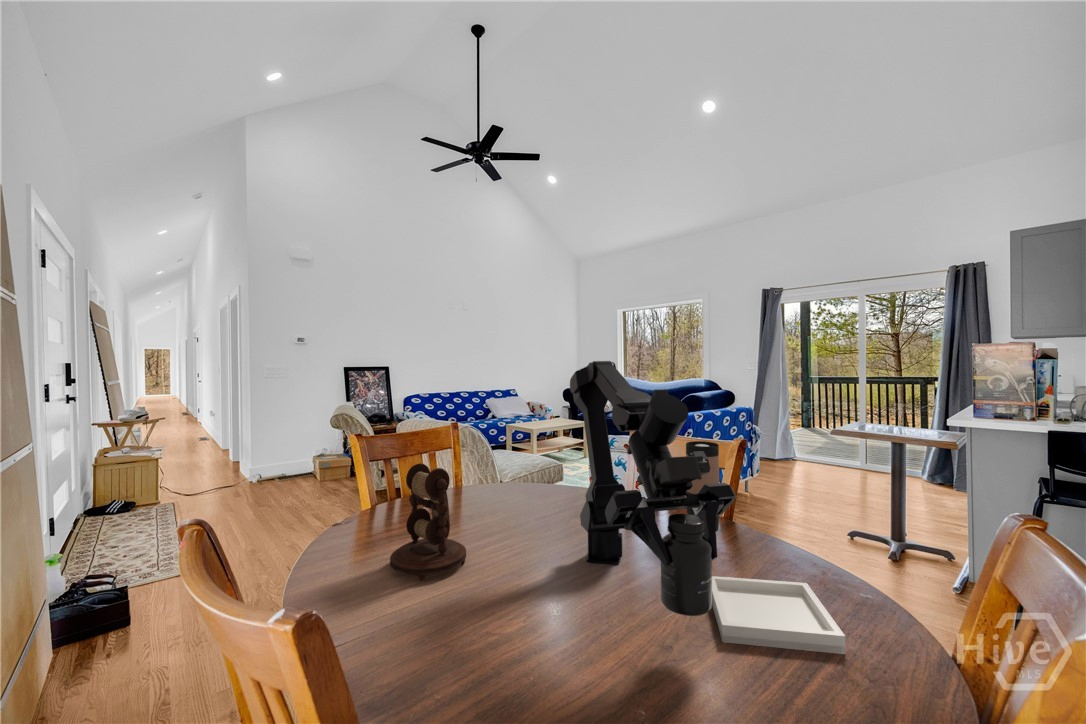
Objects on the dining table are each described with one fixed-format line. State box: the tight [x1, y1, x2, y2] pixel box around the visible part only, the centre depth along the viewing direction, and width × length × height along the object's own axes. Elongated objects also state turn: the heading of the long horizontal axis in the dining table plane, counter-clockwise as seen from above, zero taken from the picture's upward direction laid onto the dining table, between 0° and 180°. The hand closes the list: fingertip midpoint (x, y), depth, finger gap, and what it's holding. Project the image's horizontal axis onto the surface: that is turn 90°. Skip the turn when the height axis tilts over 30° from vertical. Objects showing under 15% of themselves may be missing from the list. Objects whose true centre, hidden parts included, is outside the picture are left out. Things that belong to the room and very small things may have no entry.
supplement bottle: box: [660, 513, 713, 617], centre depth 68 cm, size 7×7×12 cm
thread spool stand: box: [389, 463, 467, 582], centre depth 97 cm, size 15×15×20 cm
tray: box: [711, 575, 846, 655], centre depth 76 cm, size 16×16×2 cm
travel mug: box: [685, 440, 720, 531], centre depth 117 cm, size 8×8×20 cm
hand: (691, 561), depth 66 cm, fingers closed on supplement bottle, 7 cm apart
